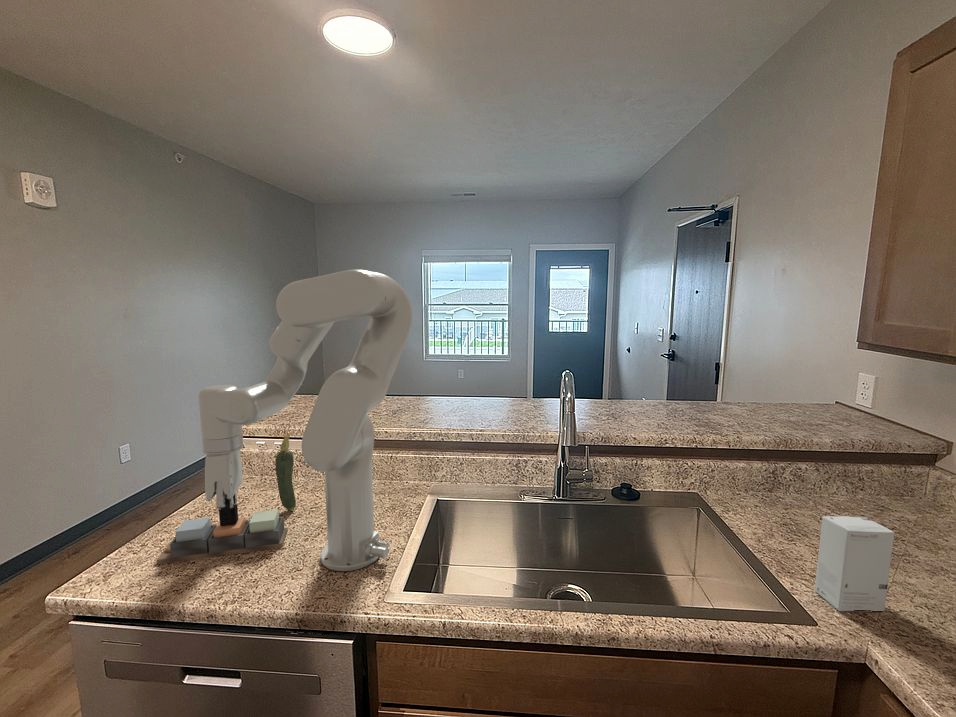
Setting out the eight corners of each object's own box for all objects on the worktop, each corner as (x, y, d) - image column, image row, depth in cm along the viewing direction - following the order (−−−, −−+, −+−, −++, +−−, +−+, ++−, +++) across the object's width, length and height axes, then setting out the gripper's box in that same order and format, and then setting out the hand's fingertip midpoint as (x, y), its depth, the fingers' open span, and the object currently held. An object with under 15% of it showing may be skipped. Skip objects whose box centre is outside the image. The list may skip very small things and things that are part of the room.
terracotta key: (246, 533, 99) (245, 516, 98) (240, 545, 94) (239, 527, 93) (222, 536, 98) (220, 519, 97) (214, 548, 93) (213, 530, 92)
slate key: (211, 534, 97) (210, 517, 96) (203, 546, 92) (202, 528, 92) (186, 537, 96) (184, 520, 95) (177, 549, 91) (175, 531, 90)
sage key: (279, 525, 100) (278, 509, 100) (275, 536, 96) (274, 519, 95) (255, 528, 99) (254, 512, 99) (250, 540, 94) (249, 522, 94)
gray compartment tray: (287, 531, 102) (286, 515, 101) (282, 547, 95) (281, 530, 95) (170, 546, 96) (169, 529, 95) (156, 564, 89) (154, 546, 89)
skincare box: (838, 612, 75) (847, 531, 73) (812, 590, 81) (819, 514, 79) (887, 613, 75) (897, 531, 73) (857, 590, 81) (866, 514, 79)
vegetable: (283, 516, 110) (279, 439, 107) (274, 511, 112) (270, 436, 110) (300, 509, 113) (295, 435, 111) (291, 505, 116) (286, 432, 113)
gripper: (214, 434, 99) (220, 510, 101) (190, 456, 85) (197, 544, 87) (251, 431, 101) (256, 506, 103) (232, 452, 87) (239, 539, 89)
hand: (229, 523), depth 95 cm, fingers closed
